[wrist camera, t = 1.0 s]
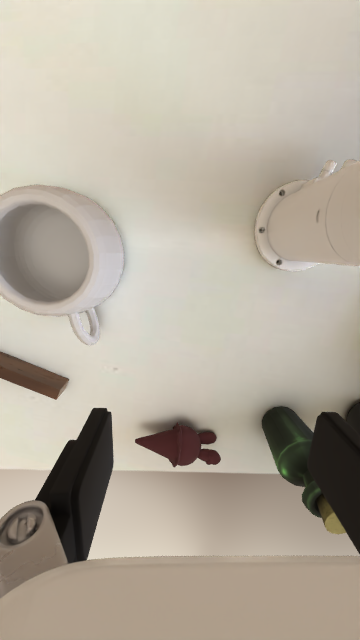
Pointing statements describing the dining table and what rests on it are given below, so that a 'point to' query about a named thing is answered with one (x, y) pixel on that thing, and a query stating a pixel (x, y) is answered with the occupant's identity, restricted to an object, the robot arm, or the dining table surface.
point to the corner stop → (31, 376)
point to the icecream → (181, 445)
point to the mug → (58, 254)
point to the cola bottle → (354, 418)
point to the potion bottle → (297, 461)
